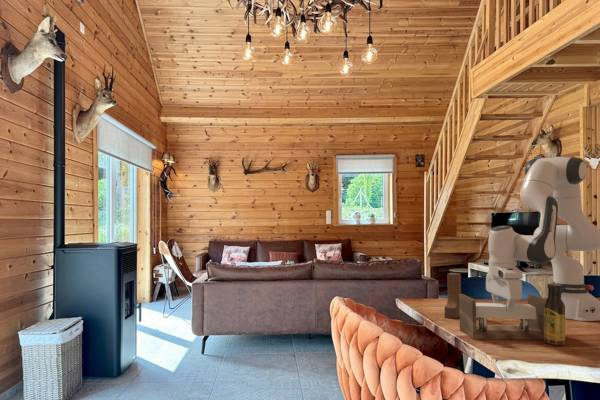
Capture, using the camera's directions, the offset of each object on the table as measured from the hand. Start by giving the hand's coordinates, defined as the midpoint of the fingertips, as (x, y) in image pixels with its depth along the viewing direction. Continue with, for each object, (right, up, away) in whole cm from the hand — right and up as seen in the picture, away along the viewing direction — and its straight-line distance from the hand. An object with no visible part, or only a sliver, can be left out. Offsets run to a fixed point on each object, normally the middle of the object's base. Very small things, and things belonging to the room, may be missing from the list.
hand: (502, 308), depth 152 cm
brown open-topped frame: (0, -9, 0) cm, 9 cm away
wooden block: (-8, -11, +28) cm, 31 cm away
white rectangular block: (0, -3, 0) cm, 3 cm away
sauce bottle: (+12, -9, -11) cm, 19 cm away
